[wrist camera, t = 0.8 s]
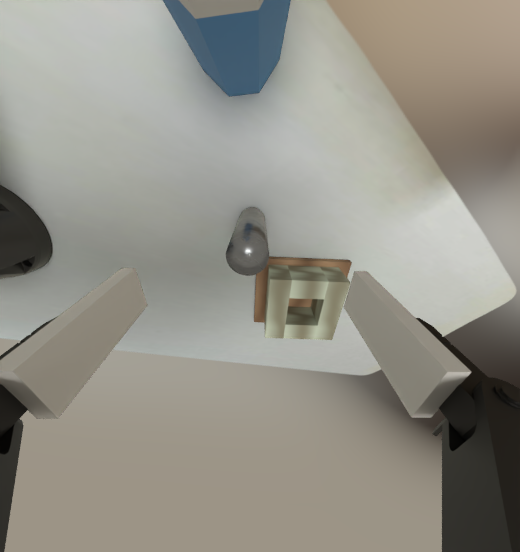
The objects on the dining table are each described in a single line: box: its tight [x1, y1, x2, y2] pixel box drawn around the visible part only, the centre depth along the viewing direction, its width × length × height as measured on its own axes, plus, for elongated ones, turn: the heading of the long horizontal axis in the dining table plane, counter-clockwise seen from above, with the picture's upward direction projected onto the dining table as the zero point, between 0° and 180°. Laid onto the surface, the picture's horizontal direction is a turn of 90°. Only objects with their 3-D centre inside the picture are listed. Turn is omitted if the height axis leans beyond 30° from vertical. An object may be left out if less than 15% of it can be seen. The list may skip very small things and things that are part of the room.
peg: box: [226, 207, 269, 275], centre depth 24 cm, size 4×4×14 cm
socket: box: [254, 257, 352, 340], centre depth 34 cm, size 16×14×6 cm
